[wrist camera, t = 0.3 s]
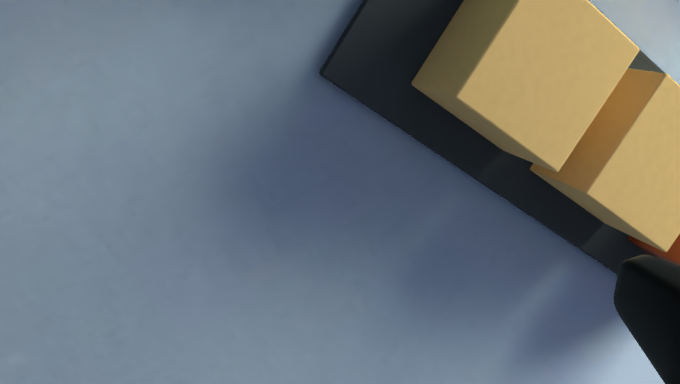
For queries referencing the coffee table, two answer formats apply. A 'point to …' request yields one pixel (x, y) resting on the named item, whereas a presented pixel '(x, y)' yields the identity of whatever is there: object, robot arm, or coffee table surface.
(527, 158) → the long dark base plate
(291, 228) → the coffee table surface
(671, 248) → the terracotta orange cube
